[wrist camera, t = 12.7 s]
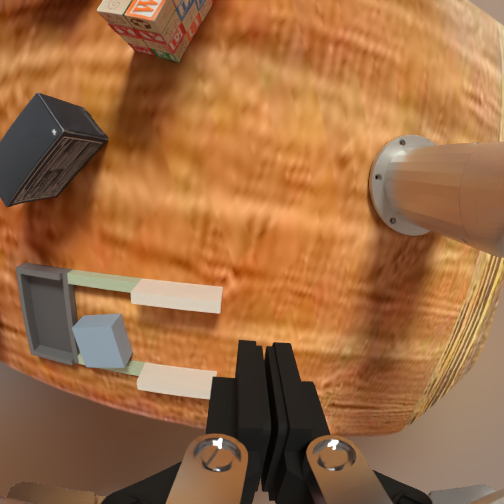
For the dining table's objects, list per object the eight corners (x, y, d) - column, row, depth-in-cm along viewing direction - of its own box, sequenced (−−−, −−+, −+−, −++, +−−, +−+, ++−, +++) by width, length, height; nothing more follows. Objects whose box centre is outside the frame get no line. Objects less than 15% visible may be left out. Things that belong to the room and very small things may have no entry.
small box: (83, 104, 32) (36, 87, 21) (110, 139, 33) (67, 130, 23) (32, 163, 33) (-20, 166, 23) (56, 199, 34) (6, 210, 24)
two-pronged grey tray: (223, 286, 38) (220, 301, 33) (216, 379, 41) (214, 399, 37) (25, 262, 36) (7, 271, 32) (38, 346, 39) (24, 361, 35)
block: (121, 312, 38) (111, 326, 35) (133, 351, 40) (124, 367, 36) (84, 315, 38) (71, 328, 35) (96, 352, 40) (86, 367, 36)
